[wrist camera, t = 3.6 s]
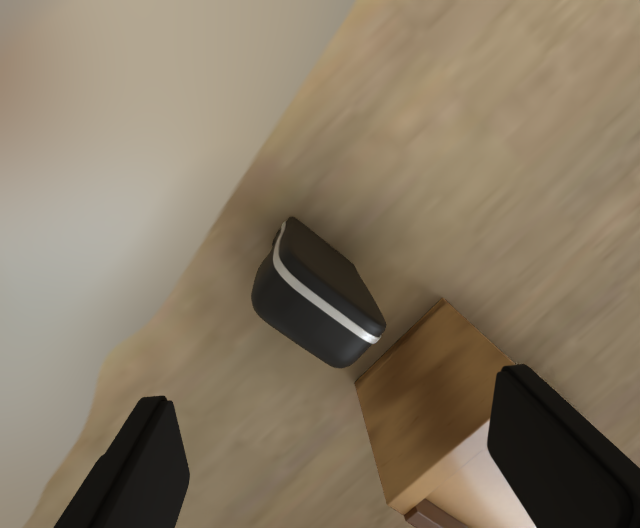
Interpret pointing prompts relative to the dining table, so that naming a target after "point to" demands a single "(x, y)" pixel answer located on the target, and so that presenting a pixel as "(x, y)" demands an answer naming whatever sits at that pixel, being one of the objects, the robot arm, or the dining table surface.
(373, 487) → the dining table surface
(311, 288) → the battery charger
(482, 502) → the tray
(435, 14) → the dining table surface
